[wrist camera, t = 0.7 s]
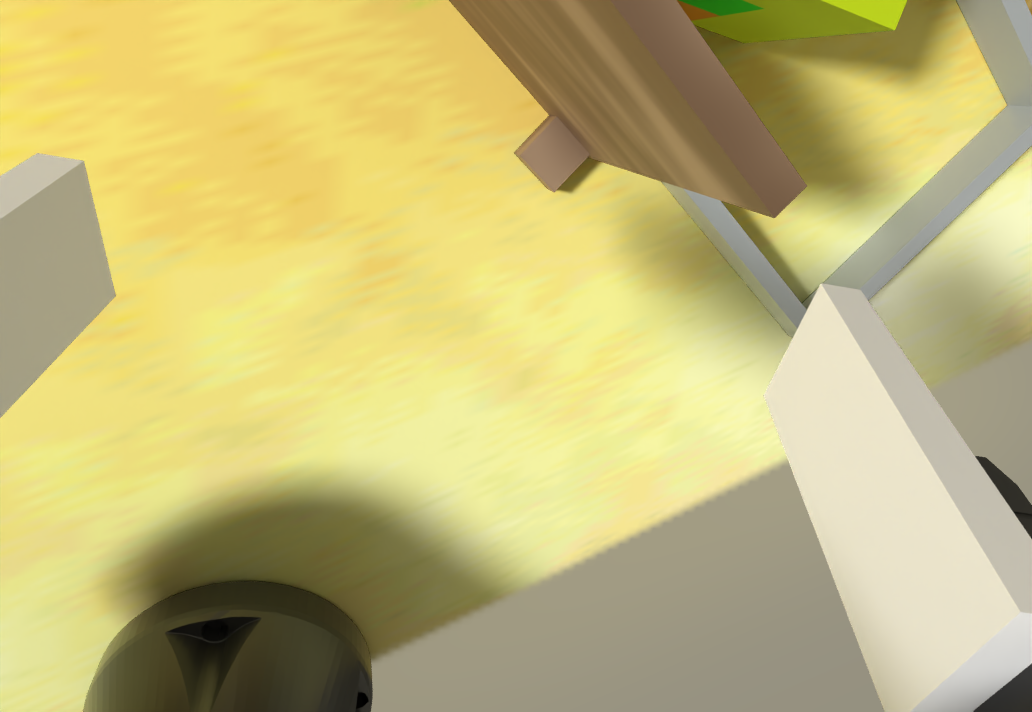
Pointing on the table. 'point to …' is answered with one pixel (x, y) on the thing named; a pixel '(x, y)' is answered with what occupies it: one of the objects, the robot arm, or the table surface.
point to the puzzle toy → (792, 17)
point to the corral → (1022, 123)
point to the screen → (634, 98)
